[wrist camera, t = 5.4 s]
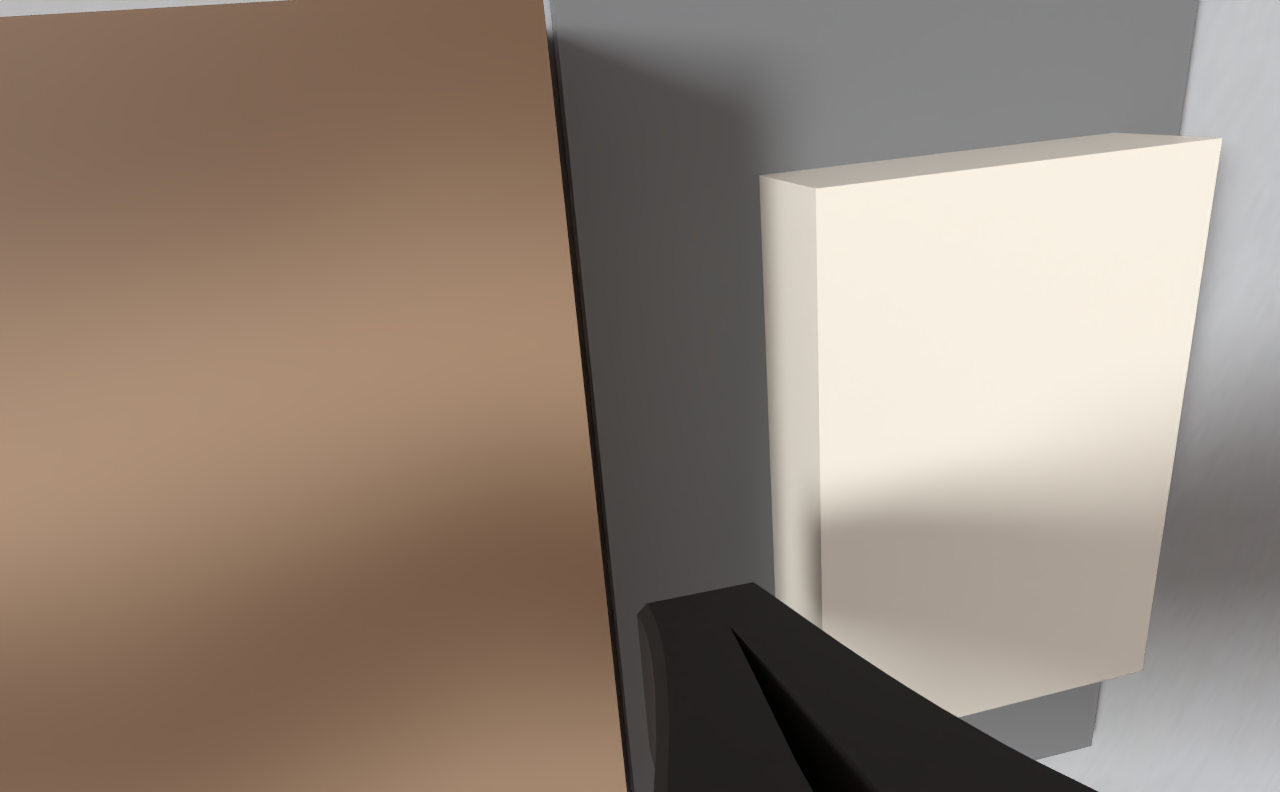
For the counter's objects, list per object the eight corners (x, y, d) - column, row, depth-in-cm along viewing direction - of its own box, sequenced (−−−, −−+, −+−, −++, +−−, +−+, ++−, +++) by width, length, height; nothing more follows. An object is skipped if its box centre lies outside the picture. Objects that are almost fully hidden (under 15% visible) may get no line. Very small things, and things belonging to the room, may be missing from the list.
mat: (1077, 732, 18) (1091, 745, 18) (636, 844, 17) (641, 861, 16) (1190, -94, 13) (1213, -100, 12) (543, -64, 11) (546, -69, 11)
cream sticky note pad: (824, 751, 14) (778, 674, 15) (1142, 670, 15) (1064, 607, 17) (816, 187, 10) (759, 175, 12) (1222, 137, 12) (1113, 132, 13)
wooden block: (602, 813, 16) (651, 1024, 12) (-103, 985, 14) (-296, 1302, 10) (506, 22, 11) (541, -15, 8) (-604, 96, 9) (-1315, 93, 5)
